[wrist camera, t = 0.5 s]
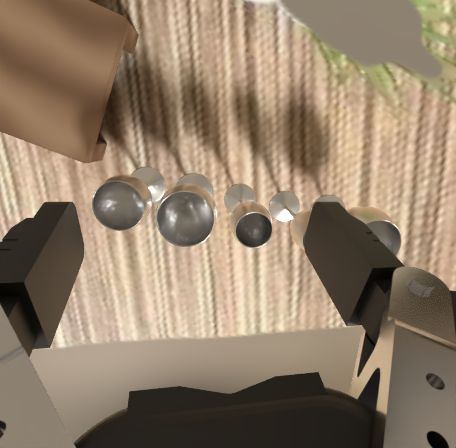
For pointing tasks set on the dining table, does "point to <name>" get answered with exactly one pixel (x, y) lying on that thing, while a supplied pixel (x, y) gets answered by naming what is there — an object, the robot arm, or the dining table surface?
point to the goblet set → (214, 210)
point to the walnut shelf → (59, 72)
